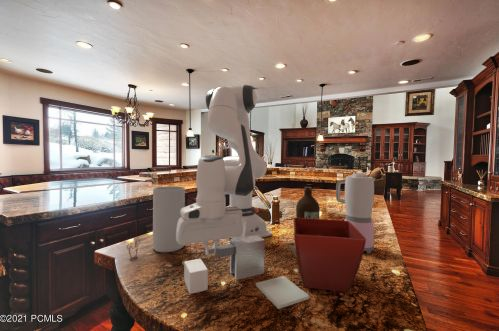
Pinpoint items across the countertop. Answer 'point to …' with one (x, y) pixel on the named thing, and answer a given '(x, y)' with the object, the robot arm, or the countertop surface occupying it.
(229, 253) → the bar
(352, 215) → the blender
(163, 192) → the cylinder vase
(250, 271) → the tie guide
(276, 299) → the sage mat
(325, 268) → the plant pot
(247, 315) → the countertop surface
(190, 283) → the off-white cardboard box
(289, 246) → the tactical tomahawk
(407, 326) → the countertop surface
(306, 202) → the olive oil
